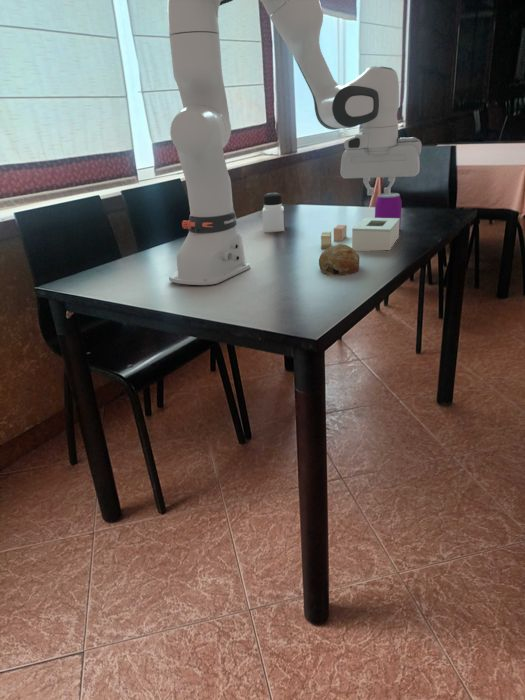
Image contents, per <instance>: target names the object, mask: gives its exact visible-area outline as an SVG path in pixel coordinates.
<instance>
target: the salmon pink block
mask: <svg viewBox="0 0 525 700" xmlns="http://www.w3.org/2000/svg"><path fill="white" fill-rule="evenodd" d="M346 238H347V225H346V224H338V225H336V226H335V227H334V228H333V242H342V241H344V240H345V239H346Z"/></svg>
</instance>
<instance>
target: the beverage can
mask: <svg viewBox="0 0 525 700" xmlns="http://www.w3.org/2000/svg"><path fill="white" fill-rule="evenodd" d="M374 204H375V205H374V218H400V224H399V230H400V231H401V222H402V221H401V220H402V207H403V206H402V205H403V204H402V199H401V195H400V193H398V192H390V195H384V192H383V193H379V194H378V195H377V198H376V199H375V203H374Z"/></svg>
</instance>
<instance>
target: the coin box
mask: <svg viewBox="0 0 525 700" xmlns="http://www.w3.org/2000/svg"><path fill="white" fill-rule="evenodd" d="M399 224H400V218H375V217H363V218H362V219H361V220H360V221H359V222H358V223H356V225H354V226H353V227H352V229H351V230H352V238H351V244H352V245H351V248H353V249H354V250H355V251H356V252H371V251H370V250H390V249H392V248H393V247H394V245H395V244H396V243H395V241H396V240H397V239H398V240H399V238H400V237H399V236H400V231H399ZM398 237H399V238H398ZM398 240H397V241H398ZM397 241H396V242H397ZM394 243H395V244H394ZM393 244H394V245H393ZM392 246H393V247H392ZM391 247H392V248H391ZM390 251H391V250H390Z"/></svg>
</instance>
